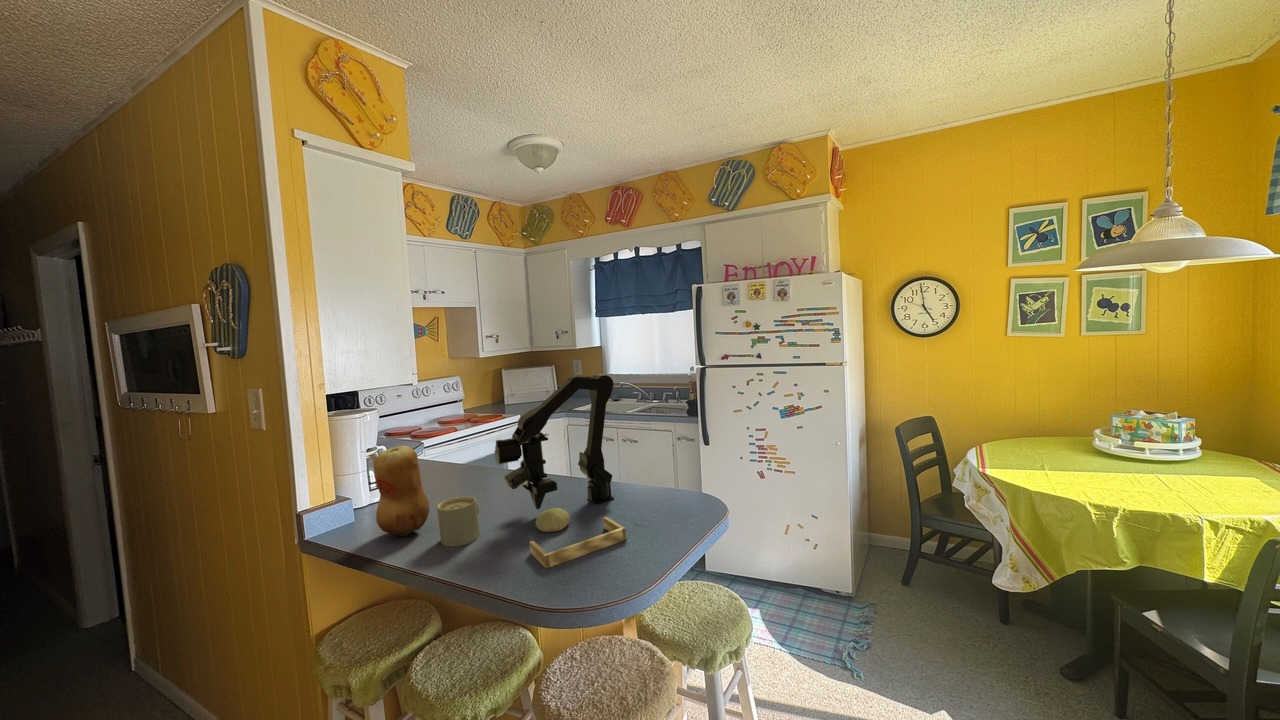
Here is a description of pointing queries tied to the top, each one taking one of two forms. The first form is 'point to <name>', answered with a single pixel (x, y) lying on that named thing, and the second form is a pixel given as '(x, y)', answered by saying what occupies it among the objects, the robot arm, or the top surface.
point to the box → (580, 545)
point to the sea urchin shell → (552, 520)
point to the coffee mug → (458, 521)
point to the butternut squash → (400, 491)
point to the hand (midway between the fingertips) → (538, 508)
